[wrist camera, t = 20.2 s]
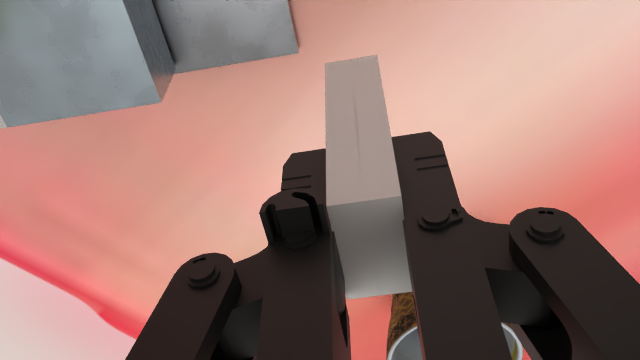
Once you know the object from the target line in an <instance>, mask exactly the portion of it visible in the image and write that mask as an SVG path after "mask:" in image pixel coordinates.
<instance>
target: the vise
mask: <svg viewBox="0 0 640 360" xmlns="http://www.w3.org/2000/svg"><path fill="white" fill-rule="evenodd" d="M152 3H153V6H154V9H155V12H156V15H157V18H158V20H159V23H160V26H161V29H162V32H163V35H164V38H165V40H166V43H167V46H168V49H169V52H170V55H171V57H172V60H173V63H174V66H175V69H176V70H175V72H174V74H177V73H183V72H188V71H194V70H200V69H206V68H212V67H218V66H224V65H230V64H236V63H242V62H248V61H254V60H260V59H266V58H272V57H278V56H284V55H290V54H296V53H298V52H299V45H298V40H297V36H296V31H295V26H294V22H293V17H292V12H291V8H290V3H289V0H152Z"/></svg>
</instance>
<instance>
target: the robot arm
mask: <svg viewBox="0 0 640 360" xmlns="http://www.w3.org/2000/svg"><path fill="white" fill-rule="evenodd" d="M325 112H326V149H319V150H312V151H306V152H299V153H292V154H291V156H290V157H289V159H288V160H287V161H286V163H285V164H284V166H283V173H282V184H281V192H279V193H277V194H275V195H274V196H272V197H270V198H269V199H268V200H267V201H266V202H265V203H264V204H263V205H262V207H261V210H260V212H259V214H260V217H261V220H262V223H263V227H264V230H265V233H266V236H267V240H268V246H267V247H266V248H265V249H264V250H262V251H261V252H259V253H258V254H255V255H253V256H251V257H249V258H246V259H244V260H241V261H238V262H236V263H233V261H232V259H230V258H229V257H228V256H226V255H224V254H219V253H208V254H202V255H199V256H197V257H194V258H192V259H190V260H189V261H187V262H186V263H184V264H183V265H182V266H181V267H180V268H179V269H178V270H177V272H176V273H175V274H174V276H173V278H172V279H171V281H170V283H169V285H168V286H167V288H166V290H165V292H164V293H163V295H162V297H161V298H160V300H159V302H158V304H157V305H156V307H155V309H154V311H153V312H152V314H151V316H150V318H149V319H148V321H147V323H146V325H145V326H144V328H143V330H142V331H141V333H140V335H139V337H138V338H137V340H136V342H135V344H134V345H133V347H132V349H131V351H130V353H129V354H128V356H127V357H126V359H125V360H351V346H350V326H349V316H348V311H347V307H346V300H345V292H346V297H347V299H355V298H364V297H372V296H380V295H388V294H396V293H405V292H413V300H414V308H415V315H416V323H417V331H418V333H419V340H420V346H421V352H422V359H423V360H512V357H511V353H510V350H509V347H508V344H507V340H506V337H505V334H504V330H503V327H502V324H501V322H505V323H510V326H511V328H512V330H513V332H514V333H515V335H516V336H517V338H518V339H519V341H520V342H521V344H522V346H523V347H524V349H525V350H526V352H527V353H528V355H529V356H530V358H531V359H532V360H640V284H639V283H638V282H637V281H636V280H635V279H634V278H633V277H632V276H631V275H630V274H629V273H628V272H627V271H626V270H625V269H624V268H623V267H622V266H621V265H620V264H619V263H618V262H617V261H616V259H615V258H614V257H613V256H612V255H611V254H610V253H609V252H608V251H607V250H606V249H605V248H604V247H603V246H602V245H601V244H600V243H599V242H598V241H597V240H596V239H595V238H594V237H593V236H592V235H591V234H590V233H589V232H588V231H587V230H586V229H585V227H584V226H583V225H582V224H581V223H580V222H579V221H578V220H577V219H575V218H574V217H573V216H571V215H570V214H568V213H567V212H564V211H561V210H558V209H555V208H544V207H539V208H533V209H527V210H525V211H523V212H521V213H519V214H517V215H516V216H515V217H514V218H513V219H512V221H511V222H510V225H507V224H496V223H490V222H484V221H482V220H479V219H476V218H474V217H472V216H471V215H469V214H468V213H467V212H466V211H465V209H464V208H463V207H462V206H461V204H460V201H459V198H458V195H457V191H456V188H455V185H454V181H453V178H452V175H451V171H450V168H449V165H448V161H447V158H446V155H445V151H444V148H443V144H442V141H441V140H439V139H438V138H437V137H436V136H435V135H434V134H432V133H431V132H423V133H416V134H410V135H403V136H396V137H391V133H390V127H389V121H388V116H387V110H386V104H385V98H384V93H383V87H382V81H381V75H380V70H379V64H378V58H377V55H374V56H368V57H362V58H356V59H350V60H344V61H337V62H331V63H325Z"/></svg>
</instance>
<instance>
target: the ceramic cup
mask: <svg viewBox="0 0 640 360" xmlns="http://www.w3.org/2000/svg"><path fill="white" fill-rule="evenodd" d="M501 324H502V327H503V330H504V334H505V337H506V340H507V344H508V347H509V350H510V353H511V357H512V360H522V356H523V346H522V344H521V342H520V341H519V339H518V338H517V336H516V335H515V333H514V332H513V330H512V328H511V326H510V323H505V322H501ZM387 360H423V359H422V352H421V346H420V340H419V333H418V331H417V323H416V315H415V308H414V300H413V292H405V293H396V294H393V298H392V307H391V318H390V323H389V329H388V339H387Z"/></svg>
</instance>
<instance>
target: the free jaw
mask: <svg viewBox="0 0 640 360" xmlns="http://www.w3.org/2000/svg"><path fill="white" fill-rule="evenodd" d="M175 70H176V69H175V66H174V63H173V60H172V57H171V55H170V52H169V49H168V46H167V43H166V40H165V38H164V35H163V32H162V29H161V26H160V23H159V20H158V18H157V15H156V12H155V9H154V6H153V3H152V0H0V129H1V128H7V127H13V126H19V125H26V124H32V123H38V122H44V121H50V120H56V119H62V118H69V117H75V116H81V115H87V114H93V113H99V112H105V111H112V110H118V109H124V108H130V107H136V106H142V105H148V104H155V103H161V102H162V99H163V97H164V95H165V93H166V90H167V88H168V86H169V84H170V81H171V79H172V77H173V75H174V72H175Z"/></svg>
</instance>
